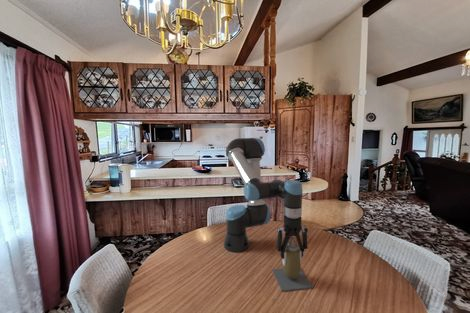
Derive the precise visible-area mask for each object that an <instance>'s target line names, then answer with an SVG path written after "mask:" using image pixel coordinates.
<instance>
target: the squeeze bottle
mask: <svg viewBox="0 0 470 313" xmlns="http://www.w3.org/2000/svg"><path fill="white" fill-rule="evenodd" d="M294 238H295V237H294V236H291V237H290V239H289V242H288V244H287V247H286V249H285V251H286V264H285V266H284V265H283V264H282V269H283V270H284V273H285V275H286V276H287V277H288V278H291V279H295V278H297V277H298V275H299V273H300V270H302V264H301V265H300V253H299V250H298V249H297V248H298V244H297V243H296V242H295V239H294Z"/></svg>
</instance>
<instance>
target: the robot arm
mask: <svg viewBox="0 0 470 313" xmlns="http://www.w3.org/2000/svg"><path fill="white" fill-rule="evenodd" d="M265 148H266V147H265V143H264V142H263V140H262V139H261V138H259V137H246V138H245V137H244V138H243V137H241V138H234V139H233V140H231V141H230V142H229V143H228V145H227V146H226V156H227V158H228V161H230V162H232V164H233V166H234V167H235V170H236V172H237V173H238V175H239V177H240V179H241V181H242V184H244V187H243V196H244V198H245V199H246V200H247V201H248V202H247V203H246V206H244V205H241V204H240V205H238V204H236V205H233V206H230V207H229V208H228V209H226V213H225V214H226V216H225V218H226V234H225V237H224V240H223V247H224V249H225V250H226V251H229V252H232V253H241V252H244V251H247V249H249V247H250V241H249V238H248V237H249V236H248V235H247V228H253V227H261V226H264V225H267V224H268V223H269V222H270V220H271V210H270V207H269V206H268V204H267V203H266V201H264V200H266V199H275V198H281V199H283V201H284V203H283V204H284V205H283V214H284V215H283V226H282V227H281V228H279V227H278V228H277V229H276V230H277V240H276V249H277V252H280V258H281V259H282V260H281V261H282V262H281V263H282V266H283V265H284V266H285V264H286V251H285V249H286V248H287V244H288V243H289V242H290V239H291V237H295V239H296V242H297V243H296V244H297V249H298V250H299V253H300V265H301V266H302V258H303V257H304V252H305V251H306V250H308V247H309V246H308V235H307V234H308V232H309V231H308V230H309V229H308V227H306V226H305V225H304V226H302V211H303V210H302V208H303V206H302V205H303V183H302V182H301V181H300V180H293V179H290V180H286V181H283V180H281V179H273V180H272V181H268V182H262V174H261V172H262V171H261V163H260V162H261V161H262V159H263V158H262V157H263V156H265V152H266V149H265ZM300 232H301V235H300ZM283 234H284V236H283ZM301 236H302V237H301ZM301 239H302V240H301Z"/></svg>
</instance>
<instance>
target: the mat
mask: <svg viewBox="0 0 470 313" xmlns="http://www.w3.org/2000/svg"><path fill="white" fill-rule="evenodd" d="M271 271H272V273H273V275H274V277H275V279H276V282H277V283H278V285H279V288H280V290H281V292H291V291H301V290H308V289H314V285H313V284H312V283H311V281H310V279H308V277H307V276H306V274H305V273H304V272H303V270H302V269H301V270H300V273H299V275H298V277H297V278H295V279H291V278H288V277H287V276H286V275H285V273H284V270H283V268H276V269H275V268H274V269H273V268H272V270H271Z"/></svg>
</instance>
